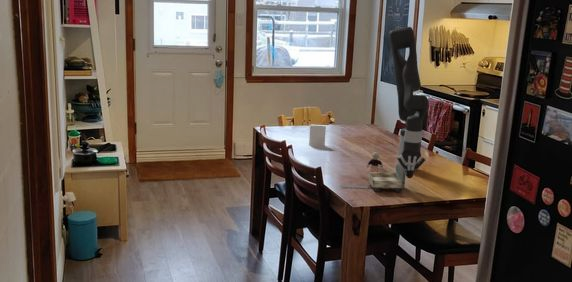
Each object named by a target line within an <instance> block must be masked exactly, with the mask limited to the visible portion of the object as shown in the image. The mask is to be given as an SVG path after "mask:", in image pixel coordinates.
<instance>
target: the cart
mask: <svg viewBox="0 0 572 282" xmlns="http://www.w3.org/2000/svg"><path fill="white" fill-rule="evenodd" d="M406 177H407V176H406V171H404V170H403V169H402V168H401V167H400V165H397V164H396V165H395V172H379V171H378V172H370V171H368V172H367V177H366V179H367V181H368V183H369V184H370V186H372V187H374V189H373V190H374V191H375V192H376V193H379V192H381V191H382V190H383V189H382V187H383V188H394V189H393V190H394V191H395V193H401V192H402V190H403V189H405V184H406Z"/></svg>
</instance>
